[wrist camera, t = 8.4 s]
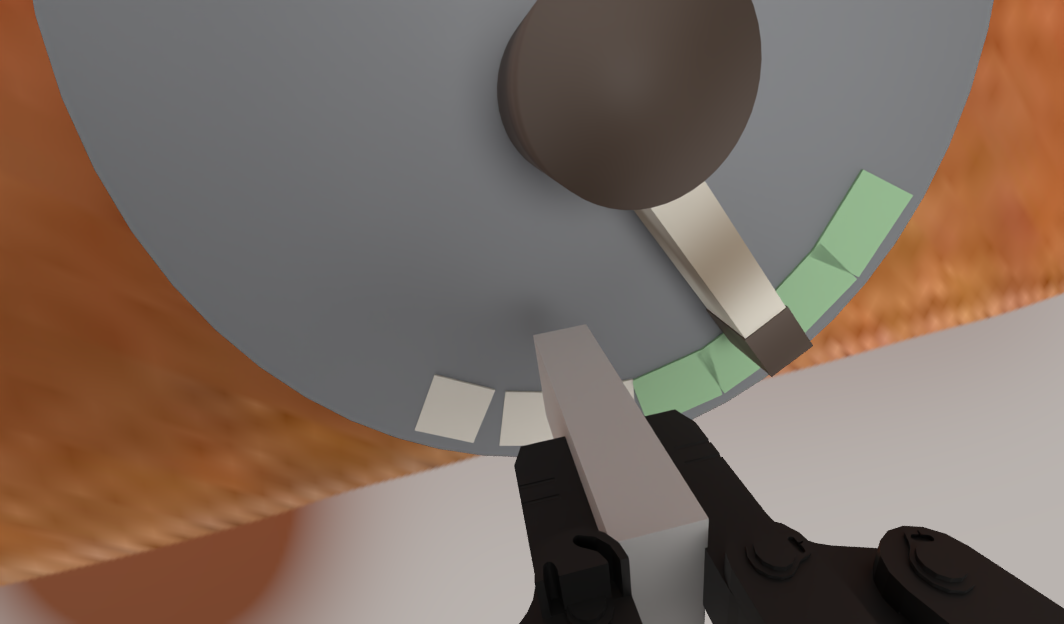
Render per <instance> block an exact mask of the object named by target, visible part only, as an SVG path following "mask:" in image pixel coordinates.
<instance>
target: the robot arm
mask: <svg viewBox="0 0 1064 624" xmlns="http://www.w3.org/2000/svg"><path fill="white" fill-rule="evenodd" d="M533 337H534V344H535V350H536V356H537V362H538V369H539V375H540V381H541V387H542V394H543V400H544V406H545V412H546V416H547V420H548V423H549V426H550V429H551V432H552V435H553V438H554V439H551V440H546V441H542V442H538V443H533V444H529V445H525V446H521V447H520V450H519V453H518V456H517V460H516V462H515V472H516V477H517V482H518V487H519V493H520V498H521V503H522V509H523V514H524V520H525V524H526V530H527V535H528V541H529V546H530V551H531V557H532V562H533V567H534V573H535V592H534V598H533V601H532V603H531V605H530V608H529V610H528V612H527V614H526V615H525V617H524V618H523V619H522V621H521V622H520V623H519V624H704V620H705V610H706V612H707V614H708V616H709V617H710V619H711V621H712V623H713V624H1064V608H1062V607H1061V606H1059V605H1058V604H1056V603H1055V602H1053V601H1052V600H1050V599H1049V598H1047V597H1046V596H1044V595H1043V594H1041V593H1039V592H1038V591H1036V590H1035V589H1033V588H1032V587H1030V586H1029V585H1027V584H1026V583H1024V582H1023V581H1021V580H1020V579H1018V578H1016V577H1015V576H1013V575H1012V574H1010V573H1009V572H1007V571H1006V570H1004V569H1003V568H1001V567H999V566H998V565H997V564H995V563H994V562H992V561H991V560H989V559H988V558H986V557H984V556H983V555H981V554H980V553H978V552H977V551H975V550H974V549H972V548H971V547H969V546H967V545H965V544H964V543H962V542H960V541H958V540H956V539H954V538H952V537H950V536H948V535H947V534H944V533H941V532H938V531H934V530H931V529H927V528H924V527H913V526H901V527H898V528H895V529H892V530H889V531H887V533H886V534H885V535H884V536H883V538H882V539H881V540H880V543H879V546H878V548H864V547H846V546H831V545H824V544H818V543H814V542H811V541H808V540H807V539H806V538H805V537H803V536H802V535H801V534H800V533H799V532H797V531H795V530H793V529H791V528H789V527H787V526H786V525H784V524H782V523H778V522H774V521H773V520H772V519H771V518H770V517H769V516H768V515H767V514H766V512H765V511H764V510H763V509H762V507H761V506H760V505H759V504H758V502H757V501H756V500H755V499H754V497H753V496H752V495H751V493H750V492H749V491H748V490H747V488H746V487H745V486H744V484H743V483H742V482H741V480H740V479H739V478H738V477H737V475H736V474H735V473H734V471H733V470H732V469H731V468H730V466H729V465H728V464H727V462H726V461H725V460H724V459H723V457H720V454H719V452H718V451H717V450H716V448H715V447H714V446H713V444H712V443H711V442H710V443H709V441H708V438H707V437H706V436H705V434H704V433H703V432H702V430H701V429H700V428H699V426H698V425H697V424H696V423H695V422H694V421H693V420H691V419H690V418H688V417H686V416H685V415H683V414H681V413H680V412H678V411H677V410H675V409H674V410H670V411H665V412H661V413H657V414H652V415H648V416H644V415H643V414H642V412H641V410H640V409H639V407H638V406H637V404H636V402H635V401H634V399H633V398H632V396H631V395H630V393H629V391H628V390H627V388H626V387H625V385H624V383H623V382H622V380H621V379H620V377H619V376H618V374H617V372H616V371H615V369H614V368H613V366H612V364H611V363H610V361H609V360H608V358H607V357H606V355H605V353H604V352H603V350H602V349H601V347H600V345H599V344H598V342H597V341H596V339H595V338H594V336H593V334H592V333H591V331H590V330H589V328H588V326H587V325H586V324H584V325H580V326H575V327H570V328H565V329H560V330H556V331H551V332H546V333H541V334H536V335H533Z"/></svg>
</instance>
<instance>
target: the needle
mask: <svg viewBox="0 0 1064 624" xmlns="http://www.w3.org/2000/svg"><path fill="white" fill-rule="evenodd" d="M761 61H762V55H761V37H760V30H759V23H758V19H757V16H756V12H755V8H754V5H753V3H752V0H537V1H536V3H535V4H534V5H533V7H532V8H531V9H530V11H529V12H528V13H527V15H526V16H525V18H524V19H523V20H522V22H521V23H520V24H519V26H518V27H517V29H516V30H515V32H514V33H513V35H512V36H511V38H510V40H509V42H508V44H507V46H506V48H505V51H504V54H503V56H502V59H501V63H500V68H499V72H498V81H497V99H498V107H499V112H500V116H501V120H502V123H503V125H504V128H505V130H506V133H507V135H508V137H509V138H510V140H511V142H512V144H513V145H514V146H515V148H516V149H517V151H518V152H519V153H520V154H521V155H522V156H523V157H524V158H525V159H526V160H527V161H528V162H529V163H531V164H532V165H533V166H534V167H536V168H537V169H539V170H540V171H542V172H543V173H544V174H546V175H547V176H549V177H550V178H552V179H553V180H555V181H556V182H558V183H559V184H560V185H562V186H563V187H565V188H566V189H568V190H569V191H571V192H572V193H574V194H575V195H577V196H579V197H580V198H582V199H584V200H586V201H589V202H591V203H593V204H596V205H599V206H603V207H606V208H610V209H619V210H634V211H635V213H636V214H637V215H638V217H639V218H640V219H641V221H642V222H643V223H644V225H645V226H646V227H647V229H648V230H649V231H650V233H651V234H652V235H653V237H654V238H655V239H656V241H657V242H658V244H659V245H660V246H661V248H662V249H663V250H664V252H665V253H666V254H667V256H668V257H669V258H670V260H671V261H672V262H673V264H674V265H675V266H676V268H677V269H678V270H679V272H680V273H681V274H682V276H683V277H684V278H685V280H686V281H687V282H688V284H689V285H690V286H691V288H692V289H693V290H694V292H695V293H696V294H697V296H698V297H699V298H700V300H701V301H702V302H703V304H704V305H705V306H706V308H707V309H706V310H707V312H708V313H709V314H710V316H711V317H712V318H713V320H714V321H715V322H716V324H717V325H718V326H719V328H720V329H721V330H722V332H723V333H724V334H725V336H726V337H727V338H728V340H729V341H730V342H731V343H732V344H733V345H734V346H735V347H737V348H738V349H739V350H740V351H741V352H743V353H744V354H745V355H746V356H747V357H749V358H750V359H751V360H752V361H753V362H754V363H756V364H757V365H758V366H759V367H760V368H762V369H763V370H764V371H765V372H766V373H768V374H769V375H770V376H771V377H772V376H773V375H775V374H776V373H777V372H779V371H780V370H781V369H783V368H784V367H785V366H787V365H788V364H789V363H791V362H792V361H793V360H795V359H796V358H797V357H799V356H800V355H801V354H803V353H804V352H806V351H807V350H808V349H810V348H811V347H812V346H813V345H812V343H811V342H810V340H809V338H808V337H807V335H806V334H805V332H804V331H803V329H802V328H801V326H800V324H799V323H798V321H797V320H796V318H795V317H794V315H793V313H792V312H791V310H790V309H789V307H788V306H786V305H784V303H783V302H782V300H781V299H780V297H779V296H778V294H777V292H776V291H775V289H774V288H773V286H772V285H771V283H770V282H769V280H768V278H767V277H766V275H765V274H764V272H763V271H762V269H761V268H760V266H759V264H758V263H757V261H756V260H755V258H754V257H753V255H752V254H751V252H750V250H749V249H748V247H747V246H746V244H745V243H744V241H743V239H742V238H741V236H740V235H739V233H738V232H737V230H736V229H735V227H734V225H733V224H732V222H731V221H730V219H729V218H728V216H727V215H726V213H725V211H724V210H723V208H722V207H721V205H720V204H719V202H718V201H717V199H716V197H715V196H714V194H713V193H712V191H711V190H710V188H709V187H708V185H707V183H706V182H705V181H706V180H707V179H708V178H709V177H710V176H711V175H712V174H713V173H714V172H715V171H716V170H717V169H718V168H719V167H720V165H721V164H722V163H723V162H724V161H725V160H726V158H727V157H728V156H729V154H730V153H731V151H732V150H733V148H734V147H735V146H736V144H737V142H738V141H739V139H740V137H741V135H742V133H743V131H744V129H745V127H746V125H747V123H748V120H749V118H750V115H751V113H752V110H753V106H754V103H755V100H756V96H757V92H758V86H759V81H760V74H761Z"/></svg>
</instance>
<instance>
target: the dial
mask: <svg viewBox="0 0 1064 624" xmlns="http://www.w3.org/2000/svg"><path fill="white" fill-rule="evenodd" d="M536 1H537V0H33V4H34V9H35V15H36V18H37V22H38V25H39V28H40V31H41V34H42V37H43V40H44V43H45V47H46V50H47V53H48V56H49V59H50V62H51V65H52V68H53V72H54V75H55V78H56V81H57V84H58V87H59V90H60V93H61V97H62V99H63V101H64V103H65V106H66V108H67V110H68V112H69V114H70V117H71V119H72V121H73V123H74V126H75V128H76V130H77V132H78V134H79V137H80V139H81V141H82V143H83V145H84V148H85V150H86V152H87V154H88V156H89V159H90V161H91V163H92V165H93V167H94V169H95V171H96V173H97V174H98V176H99V178H100V179H101V181H102V183H103V184H104V186H105V188H106V190H107V191H108V193H109V195H110V196H111V198H112V200H113V201H114V203H115V205H116V206H117V208H118V210H119V211H120V213H121V215H122V216H123V218H124V220H125V221H126V223H127V225H128V226H129V228H130V230H131V231H132V233H133V234H134V235H135V237H136V238H137V239H138V240H139V242H140V243H141V244H142V246H143V247H144V248H145V250H146V251H147V252H148V254H149V255H150V256H151V257H152V259H153V260H154V261H155V263H156V264H157V265H158V267H159V268H160V269H161V271H162V272H163V273H164V274H165V276H166V277H167V278H168V280H169V281H170V282H171V284H172V285H173V286H174V287H175V288H176V289H177V290H178V291H179V292H180V293H181V294H182V295H183V296H184V297H185V299H186V300H187V301H188V302H189V303H190V304H191V305H192V306H193V307H194V308H195V309H196V310H197V311H198V312H199V313H200V314H201V315H202V316H203V317H204V318H205V319H206V320H207V321H208V323H209V324H210V325H211V326H212V327H213V328H214V329H215V330H216V331H217V332H219V333H220V334H221V335H222V336H223V337H225V338H226V339H227V340H228V341H229V342H231V343H232V344H233V345H234V346H235V347H237V348H238V349H239V350H240V351H241V352H243V353H244V354H245V355H246V356H247V357H249V358H250V359H251V360H252V361H253V362H255V363H256V364H257V365H258V366H259V367H261V368H262V369H264V370H265V371H267V372H268V373H270V374H271V375H273V376H274V377H276V378H277V379H279V380H280V381H282V382H283V383H285V384H286V385H288V386H289V387H291V388H292V389H294V390H295V391H297V392H298V393H300V394H301V395H303V396H304V397H306V398H308V399H310V400H312V401H314V402H316V403H318V404H320V405H322V406H324V407H326V408H328V409H330V410H332V411H333V412H335V413H337V414H339V415H341V416H343V417H345V418H347V419H349V420H351V421H354V422H356V423H359V424H362V425H364V426H367V427H370V428H372V429H375V430H377V431H380V432H383V433H385V434H388V435H390V436H393V437H396V438H400V439H404V440H407V441H411V442H415V443H419V444H423V445H426V446H430V447H434V448H438V449H443V450H450V451H457V452H463V453H470V454H477V455H484V456H508V457H509V456H510V457H517V456H518V453H519V450H520V447H521V446H525V445H529V444H533V443H538V442H542V441H546V440H551V439H554V438H553V435H552V432H551V429H550V426H549V423H548V420H547V416H546V412H545V406H544V400H543V394H542V387H541V381H540V375H539V369H538V362H537V356H536V350H535V344H534V337H533V335H536V334H541V333H546V332H551V331H556V330H560V329H565V328H570V327H575V326H580V325H584V324H586V325H587V326H588V328H589V330H590V331H591V333H592V334H593V336H594V338H595V339H596V341H597V342H598V344H599V345H600V347H601V349H602V350H603V352H604V353H605V355H606V357H607V358H608V360H609V361H610V363H611V364H612V366H613V368H614V369H615V371H616V372H617V374H618V376H619V377H620V379H621V380H622V382H623V383H624V385H625V387H626V388H627V390H628V391H629V393H630V395H631V396H632V398H633V399H634V401H635V402H636V404H637V406H638V407H639V409H640V410H641V412H642V414H643V415H644V416H648V415H652V414H657V413H661V412H665V411H670V410H674V409H675V410H677V411H678V412H680V413H681V414H683V415H685V416H686V417H688V418H690V419H691V420H692V419H694V418H696V417H698V416H700V415H702V414H704V413H706V412H708V411H710V410H712V409H714V408H716V407H718V406H720V405H722V404H724V403H726V402H728V401H729V400H731V399H732V398H734V397H736V396H737V395H739V394H740V393H742V392H743V391H745V390H747V389H748V388H750V387H751V386H753V385H754V384H756V383H758V382H759V381H761V380H762V379H764V378H765V377H767V376H768V375H769V374H768V373H766V372H765V371H764V370H763V369H762V368H760V367H759V366H758V365H757V364H756V363H754V362H753V361H752V360H751V359H750V358H749V357H747V356H746V355H745V354H744V353H743V352H741V351H740V350H739V349H738V348H737V347H735V346H734V345H733V344H732V343H731V342H730V341H729V340H728V338H727V337H726V336H725V334H724V333H723V332H722V330H721V329H720V328H719V326H718V325H717V324H716V322H715V321H714V320H713V318H712V317H711V316H710V314H709V313H708V312H707V310H706V309H707V308H706V306H705V305H704V304H703V302H702V301H701V300H700V298H699V297H698V296H697V294H696V293H695V292H694V290H693V289H692V288H691V286H690V285H689V284H688V282H687V281H686V280H685V278H684V277H683V276H682V274H681V273H680V272H679V270H678V269H677V268H676V266H675V265H674V264H673V262H672V261H671V260H670V258H669V257H668V256H667V254H666V253H665V252H664V250H663V249H662V248H661V246H660V245H659V244H658V242H657V241H656V239H655V238H654V237H653V235H652V234H651V233H650V231H649V230H648V229H647V227H646V226H645V225H644V223H643V222H642V221H641V219H640V218H639V217H638V215H637V214H636V213H635V211H634V210H619V209H610V208H606V207H603V206H599V205H596V204H593V203H591V202H589V201H586V200H584V199H582V198H580V197H579V196H577V195H575V194H574V193H572V192H571V191H569V190H568V189H566V188H565V187H563V186H562V185H560V184H559V183H558V182H556V181H555V180H553V179H552V178H550V177H549V176H547V175H546V174H544V173H543V172H542V171H540V170H539V169H537V168H536V167H534V166H533V165H532V164H531V163H529V162H528V161H527V160H526V159H525V158H524V157H523V156H522V155H521V154H520V153H519V152H518V151H517V149H516V148H515V146H514V145H513V144H512V142H511V140H510V138H509V137H508V135H507V133H506V130H505V128H504V125H503V123H502V120H501V116H500V112H499V107H498V99H497V81H498V72H499V68H500V63H501V59H502V56H503V54H504V51H505V48H506V46H507V44H508V42H509V40H510V38H511V36H512V35H513V33H514V32H515V30H516V29H517V27H518V26H519V24H520V23H521V22H522V20H523V19H524V18H525V16H526V15H527V13H528V12H529V11H530V9H531V8H532V7H533V5H534V4H535V3H536ZM993 1H994V0H752V3H753V5H754V8H755V12H756V16H757V19H758V23H759V30H760V37H761V55H762V61H761V74H760V81H759V86H758V92H757V96H756V100H755V103H754V106H753V110H752V113H751V115H750V118H749V120H748V123H747V125H746V127H745V129H744V131H743V133H742V135H741V137H740V139H739V141H738V142H737V144H736V146H735V147H734V148H733V150H732V151H731V153H730V154H729V156H728V157H727V158H726V160H725V161H724V162H723V163H722V164H721V165H720V167H719V168H718V169H717V170H716V171H715V172H714V173H713V174H712V175H711V176H710V177H709V178H708V179H707V180H706V181H705V182H706V183H707V185H708V187H709V188H710V190H711V191H712V193H713V194H714V196H715V197H716V199H717V201H718V202H719V204H720V205H721V207H722V208H723V210H724V211H725V213H726V215H727V216H728V218H729V219H730V221H731V222H732V224H733V225H734V227H735V229H736V230H737V232H738V233H739V235H740V236H741V238H742V239H743V241H744V243H745V244H746V246H747V247H748V249H749V250H750V252H751V254H752V255H753V257H754V258H755V260H756V261H757V263H758V264H759V266H760V268H761V269H762V271H763V272H764V274H765V275H766V277H767V278H768V280H769V282H770V283H771V285H772V286H773V288H774V289H775V291H776V292H777V294H778V296H779V297H780V299H781V300H782V302H783V303H784V305H786V306H788V307H789V309H790V310H791V312H792V313H793V315H794V317H795V318H796V320H797V321H798V323H799V324H800V326H801V328H802V329H803V331H804V332H805V334H806V335H807V337H808V338H809V340H810V341H811V340H812V339H813V338H814V337H815V336H816V335H817V334H818V333H819V332H820V331H821V330H822V329H824V328H825V327H826V326H827V325H828V324H829V323H830V322H831V321H832V320H833V319H834V318H835V317H836V316H837V315H838V314H839V312H840V311H841V310H842V309H843V308H844V307H845V306H846V305H847V303H848V302H849V301H850V300H851V299H852V298H853V297H854V296H855V294H856V293H857V292H858V291H859V290H860V289H861V288H862V287H863V286H864V284H865V283H866V282H867V281H868V279H869V278H870V277H871V275H872V274H873V272H874V271H875V270H876V268H877V267H878V266H879V264H880V263H881V262H882V260H883V259H884V258H885V256H886V255H887V254H888V252H889V251H890V250H891V248H892V247H893V246H894V244H895V243H896V241H897V240H898V238H899V236H900V235H901V233H902V231H903V230H904V228H905V227H906V225H907V223H908V222H909V220H910V218H911V217H912V215H913V214H914V212H915V210H916V209H917V207H918V205H919V204H920V202H921V200H922V199H923V197H924V195H925V193H926V191H927V189H928V187H929V185H930V183H931V181H932V179H933V177H934V175H935V173H936V171H937V169H938V167H939V165H940V163H941V161H942V159H943V157H944V155H945V153H946V151H947V149H948V147H949V144H950V142H951V139H952V137H953V134H954V131H955V129H956V126H957V124H958V121H959V119H960V116H961V113H962V111H963V108H964V106H965V103H966V101H967V98H968V96H969V93H970V90H971V87H972V83H973V80H974V76H975V73H976V69H977V66H978V62H979V59H980V56H981V52H982V49H983V45H984V42H985V38H986V35H987V31H988V27H989V22H990V16H991V11H992V6H993Z"/></svg>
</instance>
